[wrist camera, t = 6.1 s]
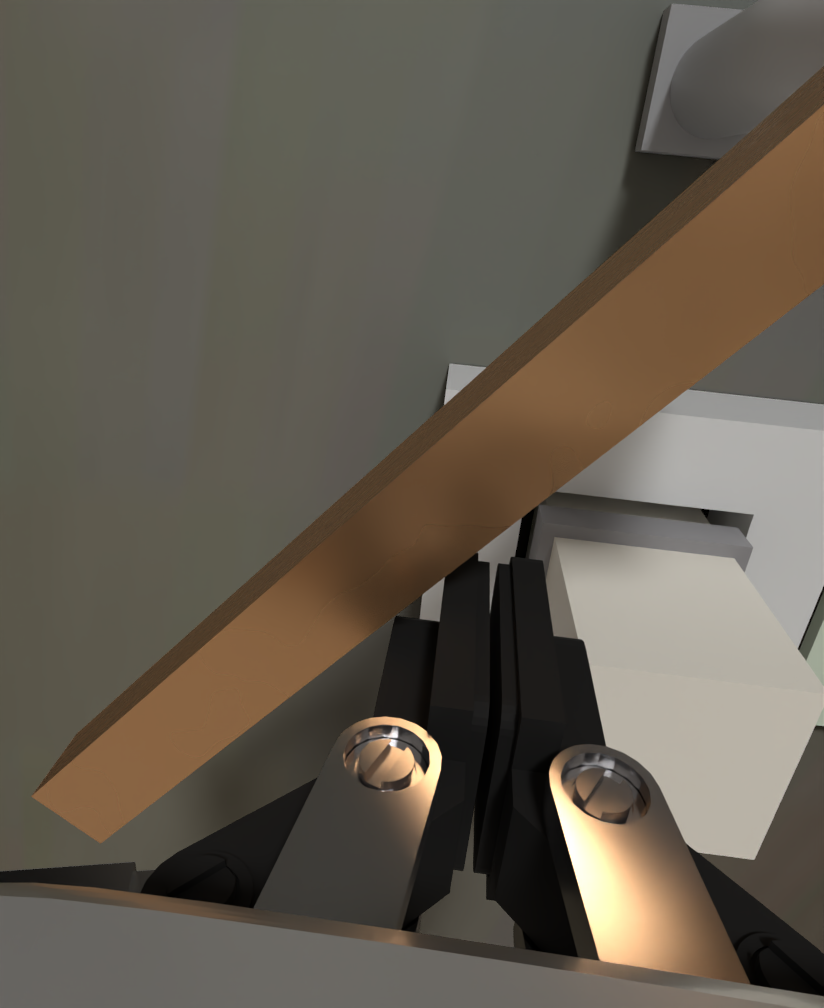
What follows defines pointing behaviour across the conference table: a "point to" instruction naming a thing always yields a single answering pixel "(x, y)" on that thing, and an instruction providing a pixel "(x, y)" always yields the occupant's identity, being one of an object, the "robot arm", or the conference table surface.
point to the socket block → (707, 415)
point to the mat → (816, 647)
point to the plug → (681, 658)
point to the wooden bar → (477, 463)
